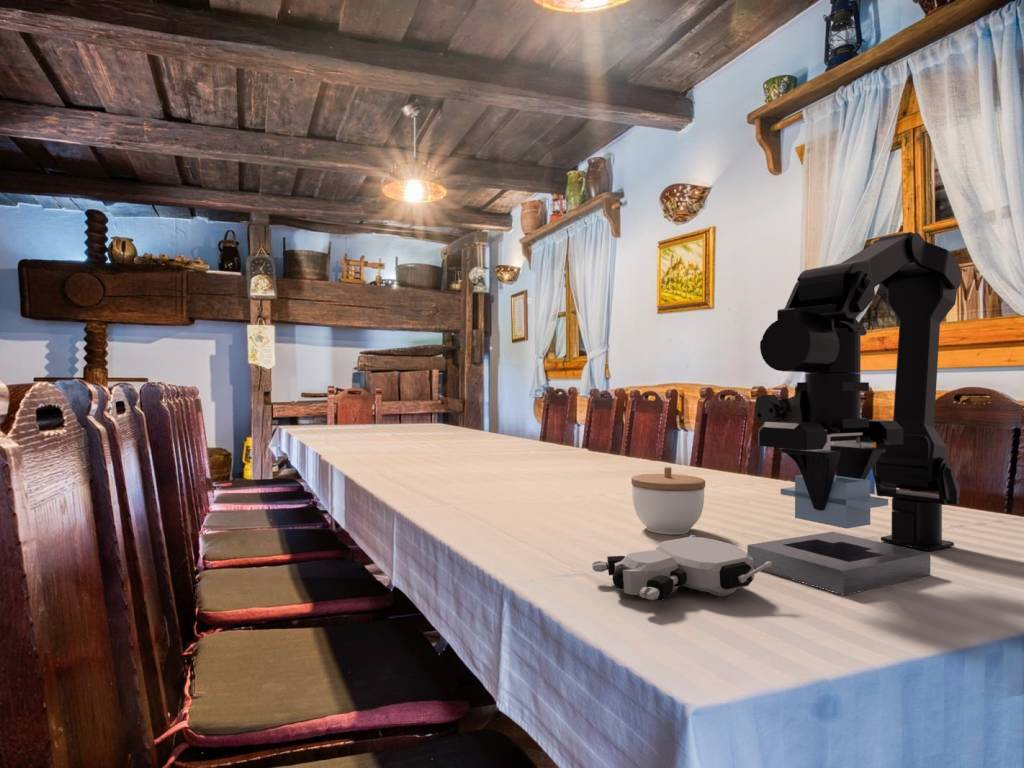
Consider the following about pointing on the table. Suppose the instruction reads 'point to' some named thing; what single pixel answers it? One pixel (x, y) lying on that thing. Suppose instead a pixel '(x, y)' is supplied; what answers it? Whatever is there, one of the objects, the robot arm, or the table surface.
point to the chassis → (840, 561)
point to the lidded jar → (668, 501)
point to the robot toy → (682, 568)
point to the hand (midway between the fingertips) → (832, 508)
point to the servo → (837, 502)
